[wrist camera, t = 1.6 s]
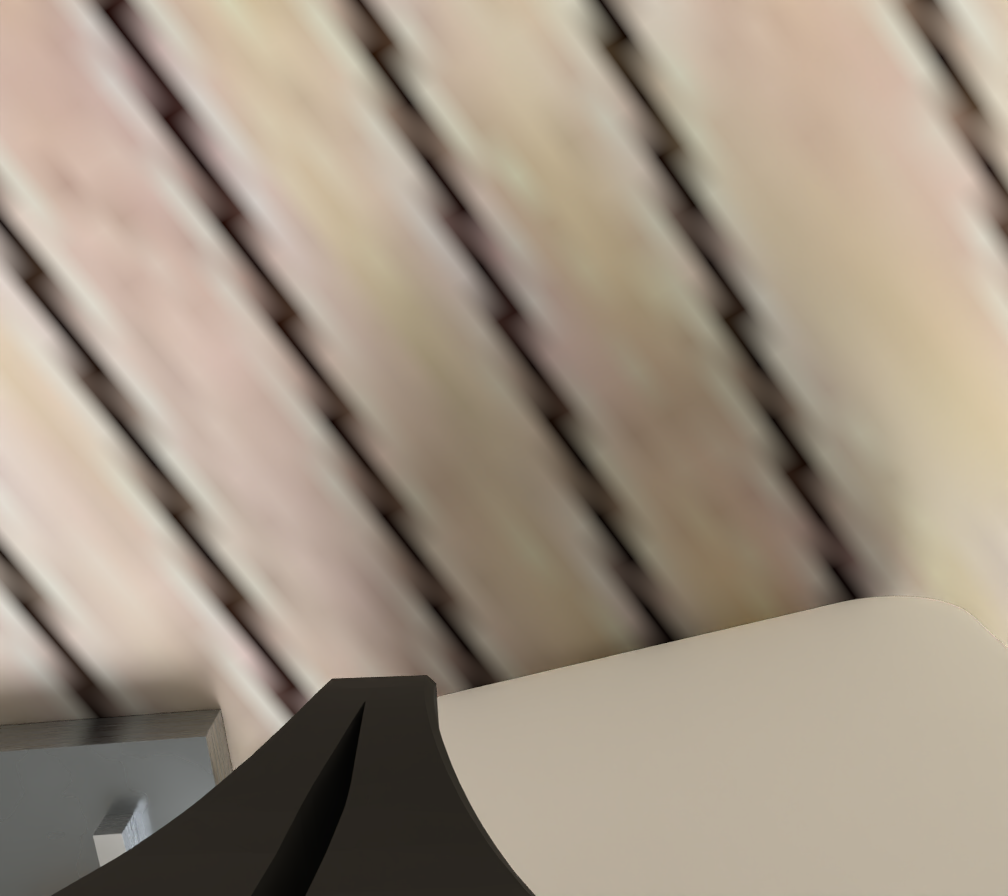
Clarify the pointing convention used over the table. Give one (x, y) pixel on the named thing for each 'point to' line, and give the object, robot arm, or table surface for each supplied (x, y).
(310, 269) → the table surface
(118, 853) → the panel
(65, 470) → the table surface
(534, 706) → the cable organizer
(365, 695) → the robot arm
